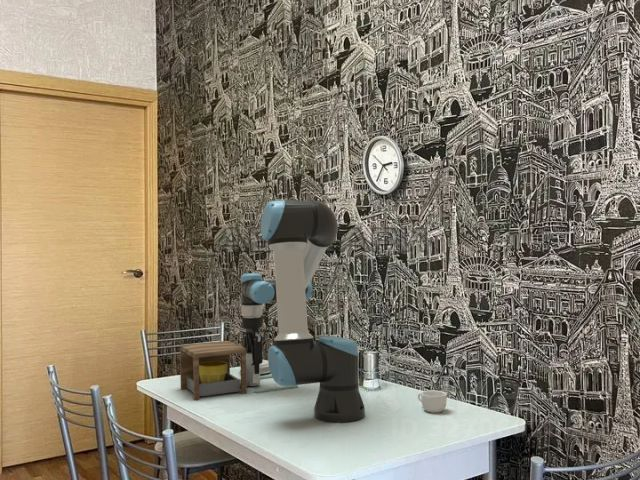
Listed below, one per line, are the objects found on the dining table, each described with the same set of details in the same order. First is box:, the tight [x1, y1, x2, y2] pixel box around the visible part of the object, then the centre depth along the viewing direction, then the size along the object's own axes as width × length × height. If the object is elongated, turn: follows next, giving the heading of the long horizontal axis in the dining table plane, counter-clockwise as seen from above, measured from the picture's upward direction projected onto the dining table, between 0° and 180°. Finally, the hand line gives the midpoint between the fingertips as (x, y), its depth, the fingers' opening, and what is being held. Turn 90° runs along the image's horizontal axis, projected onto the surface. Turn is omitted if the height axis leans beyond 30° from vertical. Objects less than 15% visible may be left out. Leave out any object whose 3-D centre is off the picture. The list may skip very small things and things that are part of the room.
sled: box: [186, 352, 261, 398], centre depth 222 cm, size 15×25×11 cm, turn 117°
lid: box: [239, 359, 271, 375], centre depth 248 cm, size 13×13×5 cm
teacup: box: [417, 389, 448, 414], centre depth 192 cm, size 10×8×5 cm
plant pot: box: [199, 361, 227, 384], centre depth 219 cm, size 10×10×10 cm
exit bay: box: [239, 374, 299, 394], centre depth 229 cm, size 21×16×1 cm
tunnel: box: [179, 340, 248, 401], centre depth 219 cm, size 18×18×16 cm
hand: (253, 380), depth 226 cm, fingers closed on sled, 5 cm apart
